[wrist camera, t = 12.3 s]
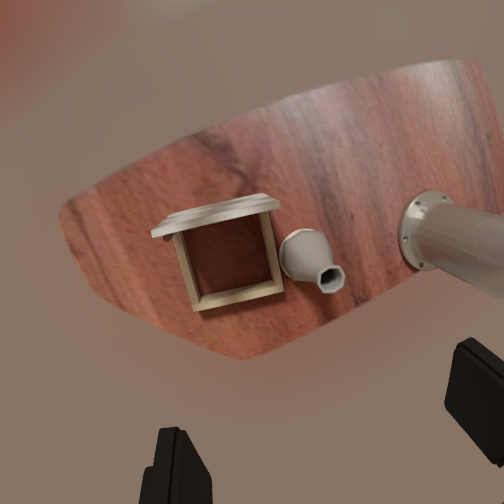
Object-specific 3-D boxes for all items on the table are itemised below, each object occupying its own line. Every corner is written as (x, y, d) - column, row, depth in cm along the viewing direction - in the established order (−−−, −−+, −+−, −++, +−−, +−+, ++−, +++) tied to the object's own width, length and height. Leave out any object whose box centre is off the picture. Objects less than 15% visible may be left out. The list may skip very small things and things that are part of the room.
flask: (336, 272, 43) (366, 299, 33) (287, 287, 43) (306, 319, 33) (326, 222, 41) (357, 238, 31) (274, 237, 41) (291, 257, 31)
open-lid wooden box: (262, 192, 40) (279, 201, 28) (280, 284, 43) (301, 324, 32) (170, 214, 39) (150, 231, 28) (195, 304, 43) (188, 350, 31)
